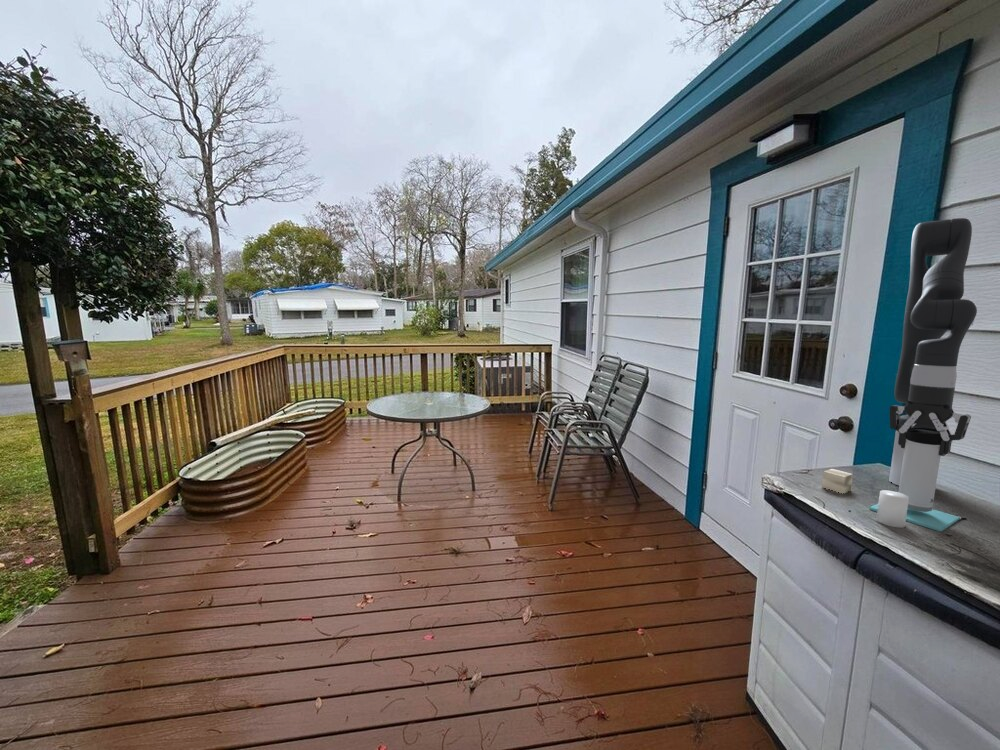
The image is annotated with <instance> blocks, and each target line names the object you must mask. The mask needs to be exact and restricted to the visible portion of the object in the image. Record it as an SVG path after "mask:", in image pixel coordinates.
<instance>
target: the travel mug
mask: <svg viewBox="0 0 1000 750" xmlns="http://www.w3.org/2000/svg"><path fill="white" fill-rule="evenodd" d="M941 440H943V439H942V437H941V433H939V432H938V431H937V429H936V428H935V429H933V428H909V429H908V431H907V438H906V443H905V450H904V456H903V463H902V470H901V477H900V484H899V485H898V493H902V494H904V495H907V496H908V497H909V501H908V509H912V510H916V511H922V512H929V511H932V509H933V506H934V505H933V504H934V499H935V494H936V487H937V479H938V474H939V467H940V461H941V456H940V455H939V450H940V444H941Z"/></svg>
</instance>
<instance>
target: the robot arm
mask: <svg viewBox="0 0 1000 750" xmlns="http://www.w3.org/2000/svg"><path fill="white" fill-rule="evenodd" d="M972 232H973V227H972V223H971V221H970V219H968V218H963V217H962V218H961V217H960V218H959V217H957V218H951V219H950V218H949V219H942V220H941V219H940V220H931V221H923V222H919V223H917V224H916V225H915V227H914V228H913V231H912V236H911V242H910V243H911V244H910V245H911V246H910V268H909V270H910V271H909V283H908V284H909V285H908V288H907V289H908V290H907V291H908V292H907V297H906V304H905V310H904V317H903V318H904V319H903V328H902V340H901V341H902V343H901V344H902V345H901V350H900V352H901V353H900V357H899V362H898V367H897V368H898V369H897V373H896V376H895V377H896V378H895V384H894V392H893V393H894V399H895V401H896V402H898V403H901V404H906V405H898V404H894V405H890V406H889V428H890V429H891V430H895V433H894V434H895V435H894V443H893V451H892V457H891V464H890V471H889V479H888V480H889V482H890V483H891V482H892V484H893V485H896V486H899V484H900V477H901V470H902V463H903V456H904V450H905V443H906V438H907V431H908V429H909V428H933V429H935V428H936V429H937V431H938V432H939V433H941V437H942V439H943V440H941V444H940V450H939V455H940V457H944V456H946V455H949V454H950V453H951V448H952V442H953V441H960V440H963V439H965V436H966V435H967V434H966V433H967V430H968V427H969V424H970V422H971V419H972V416H971V415H970V414H968V413H967V414H961V413H957V412H955V411H954V410H953V403H954V396H955V389H956V383H957V375H958V374H957V373H958V372H957V368H958V367H957V366H958V359H959V353H960V348H961V345H962V342H963V340H964V338H965V336H966V334H967V332H968V330H969V329H970V328H971V326H972V324H973V323H974V321H975V318H976V317H977V314H978V310H977V309H978V308H977V306H976V305H975V303H974V302H973V301H971V300H970V299H963V296H964V293H965V288H964V287H965V281H964V280H965V278H964V275H965V268H966V264H967V260H968V257H969V253H970V246H971V243H972V236H973V235H972ZM936 256H944V257H943V258H941V259H940V260H939V261H937V262H935V264H933V265H932V266H931V267H928V264H927V259H926V258H928V257H936ZM948 330H949V332H948ZM947 332H948V333H947ZM945 333H947V335H946V336H944V335H945ZM943 336H944V337H943ZM904 411H905V413H906V414H903V412H904ZM901 414H903V415H901ZM952 418H954V421H955V423H956V425H957V426H956V428H955V432H954V433H953V434H952V433H951V430H950V427H949V426H948V424H947V421H948V420H950V419H952Z"/></svg>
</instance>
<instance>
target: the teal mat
mask: <svg viewBox="0 0 1000 750" xmlns="http://www.w3.org/2000/svg"><path fill="white" fill-rule="evenodd" d="M869 510H870V511H873V512H876V513H877V511H878V503H876V504H873V505H872V506H869ZM960 518H961V517H960V516H957V515H954V514H951V513H947V512H943V511H939V510H936V509H933V508H932V511H929V512H922V511H916V510H912V509H908V508H907V515H906V522H909V523H912V524H915V525H919V526H922V527H926V528H929V529H931V530H935V531H936V532H940V533H941V532H943V531H944V530H946V529H947V528H949V527H950V526H952V525H953V524H955V523H956V522H958V521H959V520H960Z"/></svg>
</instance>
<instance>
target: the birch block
mask: <svg viewBox="0 0 1000 750" xmlns="http://www.w3.org/2000/svg"><path fill="white" fill-rule="evenodd" d="M853 477H854V475H853V473H850V472H846V471H842V470H839V469H835V468H830V469H827V470H824V471H823V476H822V483H821V488H822V489H824V488H826V489H825V490H828V489H830V490H829V491H831V490H833V491H832V492H834V491H836V492H835V493H838V492H839V493H838V494H841V493H842V494H841V495H844V494H846V493H849V492H851V491H852V485H853ZM848 491H849V492H848ZM843 493H844V494H843Z"/></svg>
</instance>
